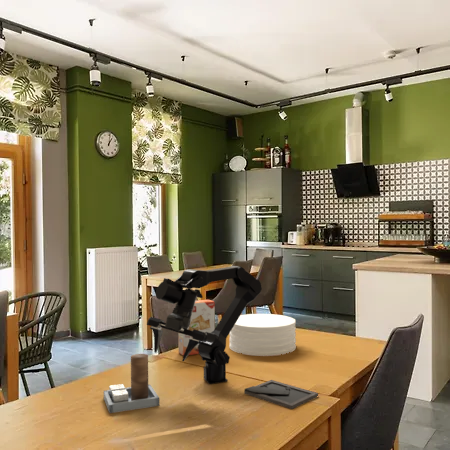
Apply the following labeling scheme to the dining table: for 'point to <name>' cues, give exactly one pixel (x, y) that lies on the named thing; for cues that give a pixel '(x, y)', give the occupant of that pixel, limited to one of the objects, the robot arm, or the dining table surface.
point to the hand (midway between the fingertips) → (169, 356)
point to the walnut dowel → (139, 376)
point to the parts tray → (134, 404)
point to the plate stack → (263, 335)
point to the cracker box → (198, 323)
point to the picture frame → (281, 394)
